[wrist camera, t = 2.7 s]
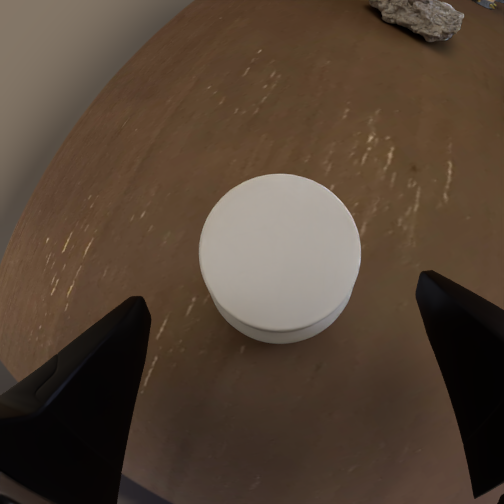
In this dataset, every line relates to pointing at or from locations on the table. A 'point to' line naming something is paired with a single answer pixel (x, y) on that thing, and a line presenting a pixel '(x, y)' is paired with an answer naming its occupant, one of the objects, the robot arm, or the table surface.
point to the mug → (488, 3)
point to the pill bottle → (280, 257)
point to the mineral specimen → (422, 17)
